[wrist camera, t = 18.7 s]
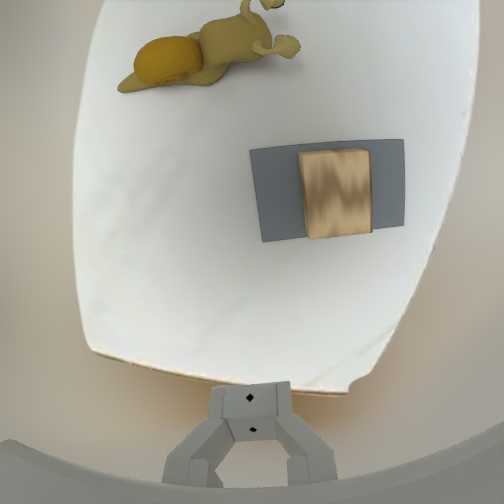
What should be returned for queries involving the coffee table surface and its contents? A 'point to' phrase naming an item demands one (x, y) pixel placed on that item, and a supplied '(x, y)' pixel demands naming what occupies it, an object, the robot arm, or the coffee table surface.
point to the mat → (290, 189)
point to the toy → (208, 51)
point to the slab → (337, 192)
